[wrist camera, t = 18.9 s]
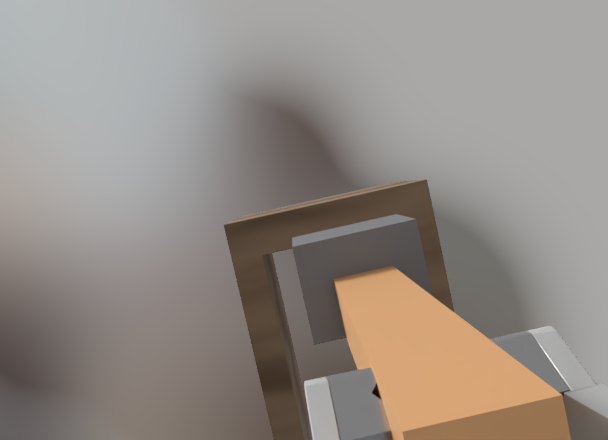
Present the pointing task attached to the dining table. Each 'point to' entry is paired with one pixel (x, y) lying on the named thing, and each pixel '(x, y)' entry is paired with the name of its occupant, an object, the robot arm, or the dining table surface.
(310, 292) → the hammer with orange handle
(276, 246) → the walnut shelf
